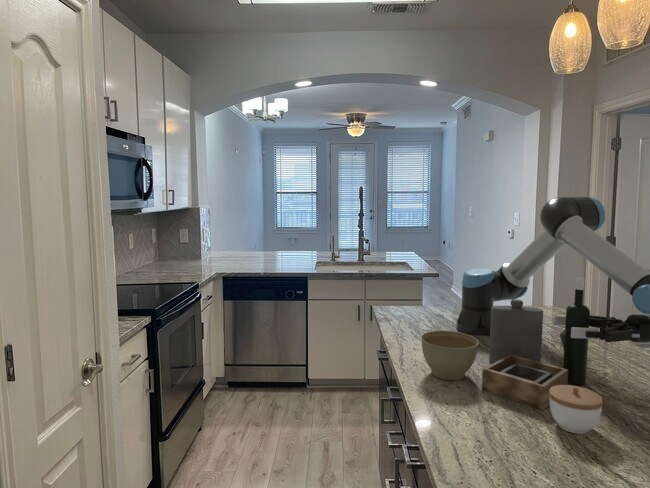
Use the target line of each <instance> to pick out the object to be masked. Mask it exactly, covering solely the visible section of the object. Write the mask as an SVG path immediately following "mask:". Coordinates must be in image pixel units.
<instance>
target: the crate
mask: <svg viewBox="0 0 650 488" xmlns="http://www.w3.org/2000/svg"><path fill="white" fill-rule="evenodd" d="M481 380H482V383H481V390H482V391H484V392H486V393H490V394H493V395H495V396H499V397H501V398H504V399H507V400H510V401H513V402H516V403H520V404H523V405H525V406H528V407H532V408H534V409H538V410H541V411H544V410H545V409H546V408H548V407H550V405H549V390H550V388H551V387H553V386H557V385H568V384H567V383H568V369H564V368H563V367H561V366H556V365H552V364H547V363H543V362H542V361H541V362H537V361H533V360H529V359H525V358H522V357H518V356H514V355H508V356H506V357H504V358H502V359H500V360H498V361H496V362H495V363H491V364H488V365H487V366H485V367H484V368H482V377H481Z"/></svg>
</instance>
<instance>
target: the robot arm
mask: <svg viewBox="0 0 650 488" xmlns="http://www.w3.org/2000/svg"><path fill="white" fill-rule="evenodd" d="M539 215H540V216H539V218H540V219H539V220H540V224H541V225H542V227H543V229H544V230H543V231H542V232H541V233H539V234H538V236H537V237H536V238H535V239H534V240H533V241H532V242H530V244H529V245H528V246H527V247H525V249H524V250H523V251H521V253H519V255H517V257H515V258H514V259H513V260H512V261H511V262H510V261H509V262H505V263H504V264H503V265H502V266H501V267H500V268H498V270H493V269H492V268H486V267H485V268H483V267H482V268H472V269H469V270H467V271H465V272H463V275H462V281H461V310H460V313H459V315H458V318H457V320H456V330H458V331H459V332H461V333H464V334H468V335H476V336H479V335H480V336H487V335H490V328H491V308H492V307H493V306H494V302H499V301H512V300H513V299H519V298H522V297H523V296H524V295H525V294H526V293H527V292H528V289H529V284H530V278H531V277H533V275H534V274H536V273H537V272H538V271H539V270H540V269H541V268H542V267H543V266H545V265H546V264H547V263H548V262H549V261H550V260H551V259H553V257H554V256H555V255H557V253H559V252H560V251H561V250H562V249H563V248H564V247H565V246H569V247H570V248H571V249H573V250H574V251H575V252H576V253H578V254H579V255H581V256H582V258H584V259H585V260H587V261H588V262H589V263H590V264H591V265H593V266H594V268H596V269H598V270H599V271H601V273H603V274H604V275H605V276H607V278H609V279H610V280H612V282H614V283H615V284H616V285H618V286H620V288H622V289H623V290H624V291H626V293H628V294H629V295H630V296H631V299H632V300H631V301H632V303H633V306H634V307H635V308H636V310H638V311H639V312H641V313H643V314H630V315H628V317H627V318H626V319H625V320H624V321H623V319H619V318H617V317H615V316H603V315H602V316H600V315H592V314H590V321H589V328H576V327H571V338H585V339H588V340H589V339H590V340H591V339H592V340H601V341H604V342H606V343H616V342H625V341H631V342H632V343H645V344H646V343H650V271H649V270H647V268H645V267H643V266H642V265H641V264H640V263H638V262H637V261H636V260H634V259H632V258H631V257H630V256H628V255H627V254H626V253H624V252H623V251H622V250H620V249H619V248H618V247H616V246H615V245H614V244H612V243H611V242H609V240H607V239H605V238H604V237H602V236H601V235H600V234H598V232H596V231H599V230H600V228H601V227H603V225H604V223H605V220H606V209H605V207H604V205H603V203H602V202H601V201H599V200H598V199H597V198H595V197H593V196H592V197H591V196H586V195H584V196H583V195H582V196H558V197H554V198H552V199H549V200H547V202H546V203H545V204H544V205H543V207H542V208H541V211H540V214H539ZM645 314H646V315H645ZM565 324H566V315H555V314H554V317H553V325H554V326H565Z"/></svg>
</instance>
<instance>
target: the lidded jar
mask: <svg viewBox="0 0 650 488" xmlns="http://www.w3.org/2000/svg"><path fill="white" fill-rule="evenodd" d="M603 405H604V399H603V397H602V396H601V395H600V394H598V393H597V392H595V391H593V390H591V389H588V388H586V387H585V388H584V387H582V386H575V385H570V384H567V385H557V386H553V387H551V388H550V390H549V412H550V415H551V417H552V418H553V420H554V421H555V422H556V423H557V424H558V426H559V427H560V428H561V429H562V430H564V431H565V432H569V433H572V434H577V435H581V434H582V435H584V434H587V433H589V431H591V430H592V429H594V428H595V427H597V425H598V424H599V422H600V419H601V416H602V413H603V412H602V411H603Z"/></svg>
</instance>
